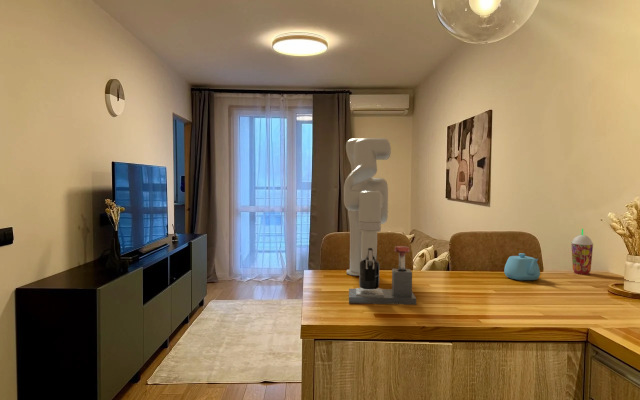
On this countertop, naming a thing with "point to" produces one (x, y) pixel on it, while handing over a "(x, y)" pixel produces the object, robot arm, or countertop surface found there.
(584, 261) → the smoothie
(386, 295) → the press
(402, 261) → the plunger
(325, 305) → the countertop surface
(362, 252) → the robot arm
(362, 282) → the supplement bottle
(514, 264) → the teapot
